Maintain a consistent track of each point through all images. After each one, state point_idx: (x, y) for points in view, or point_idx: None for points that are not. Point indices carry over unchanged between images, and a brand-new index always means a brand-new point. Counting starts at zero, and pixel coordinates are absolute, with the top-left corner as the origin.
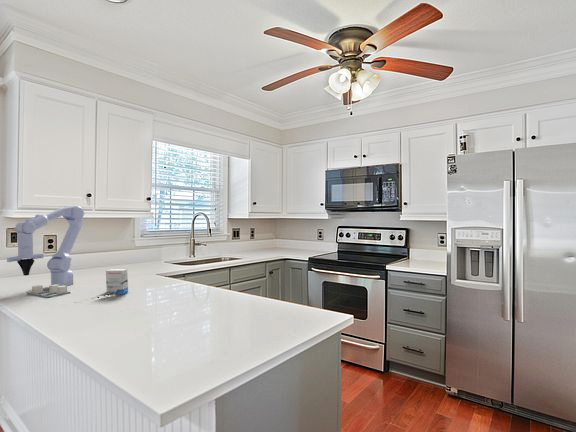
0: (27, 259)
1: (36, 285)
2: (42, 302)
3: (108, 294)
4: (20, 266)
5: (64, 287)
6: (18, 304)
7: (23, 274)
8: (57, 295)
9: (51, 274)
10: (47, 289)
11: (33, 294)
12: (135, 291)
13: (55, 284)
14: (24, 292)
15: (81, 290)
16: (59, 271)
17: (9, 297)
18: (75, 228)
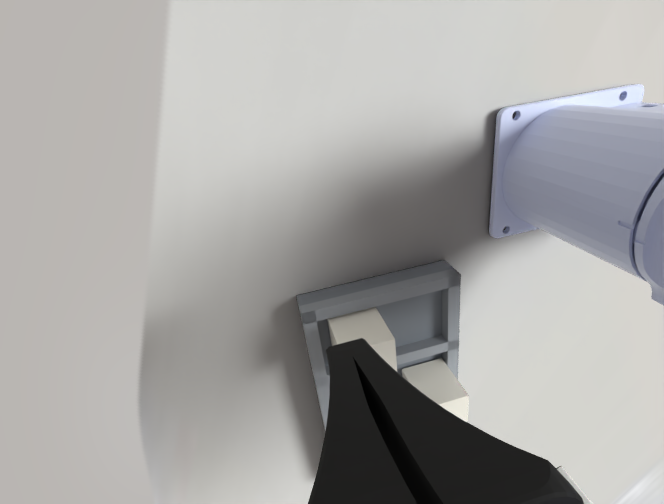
0: None
1: (373, 347)
2: (306, 475)
3: None
4: (322, 466)
5: None
6: (204, 451)
7: (327, 358)
8: None
9: (613, 214)
10: (433, 291)
11: (314, 376)
12: (597, 494)
13: (461, 400)
14: (337, 71)
15: (550, 340)
16: (660, 301)
17: (192, 201)
18: None
